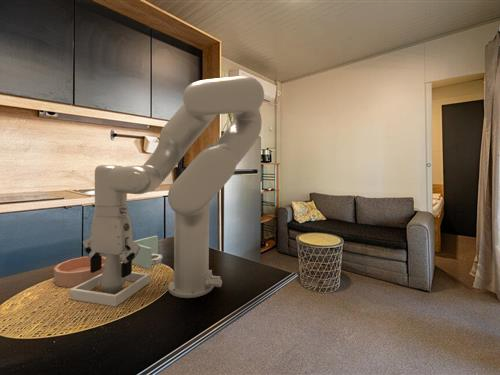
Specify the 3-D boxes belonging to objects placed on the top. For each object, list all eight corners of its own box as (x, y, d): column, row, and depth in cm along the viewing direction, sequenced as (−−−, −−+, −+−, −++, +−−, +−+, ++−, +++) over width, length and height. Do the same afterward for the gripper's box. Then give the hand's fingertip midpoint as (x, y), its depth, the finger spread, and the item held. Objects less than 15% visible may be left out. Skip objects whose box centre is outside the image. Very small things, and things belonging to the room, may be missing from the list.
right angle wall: (149, 270, 83) (149, 248, 83) (128, 263, 89) (127, 242, 89) (177, 260, 93) (177, 240, 93) (156, 254, 99) (156, 235, 99)
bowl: (118, 270, 82) (118, 258, 81) (82, 289, 69) (82, 275, 68) (84, 265, 85) (83, 254, 84) (43, 283, 71) (42, 269, 71)
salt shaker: (114, 296, 65) (113, 247, 64) (95, 293, 66) (94, 245, 65) (129, 286, 71) (128, 241, 70) (111, 284, 72) (111, 240, 71)
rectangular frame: (149, 282, 74) (149, 274, 73) (115, 306, 60) (115, 296, 60) (110, 277, 77) (110, 269, 76) (69, 299, 63) (69, 289, 63)
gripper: (148, 211, 69) (147, 272, 70) (95, 207, 73) (95, 264, 74) (129, 216, 61) (129, 283, 63) (72, 211, 65) (72, 274, 66)
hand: (111, 273), depth 68 cm, fingers open, 9 cm apart
